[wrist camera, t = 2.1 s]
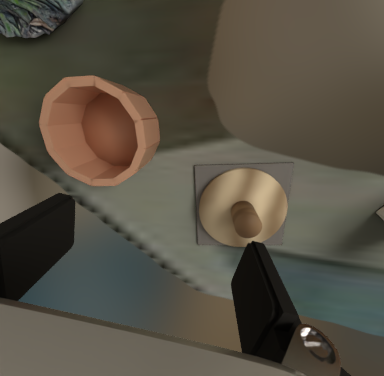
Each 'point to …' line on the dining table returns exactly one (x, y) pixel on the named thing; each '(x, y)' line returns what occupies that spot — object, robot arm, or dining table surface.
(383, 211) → the milk carton
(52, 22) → the tree stump
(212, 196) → the lid
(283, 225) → the mat
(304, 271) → the dining table surface
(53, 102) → the bowl
